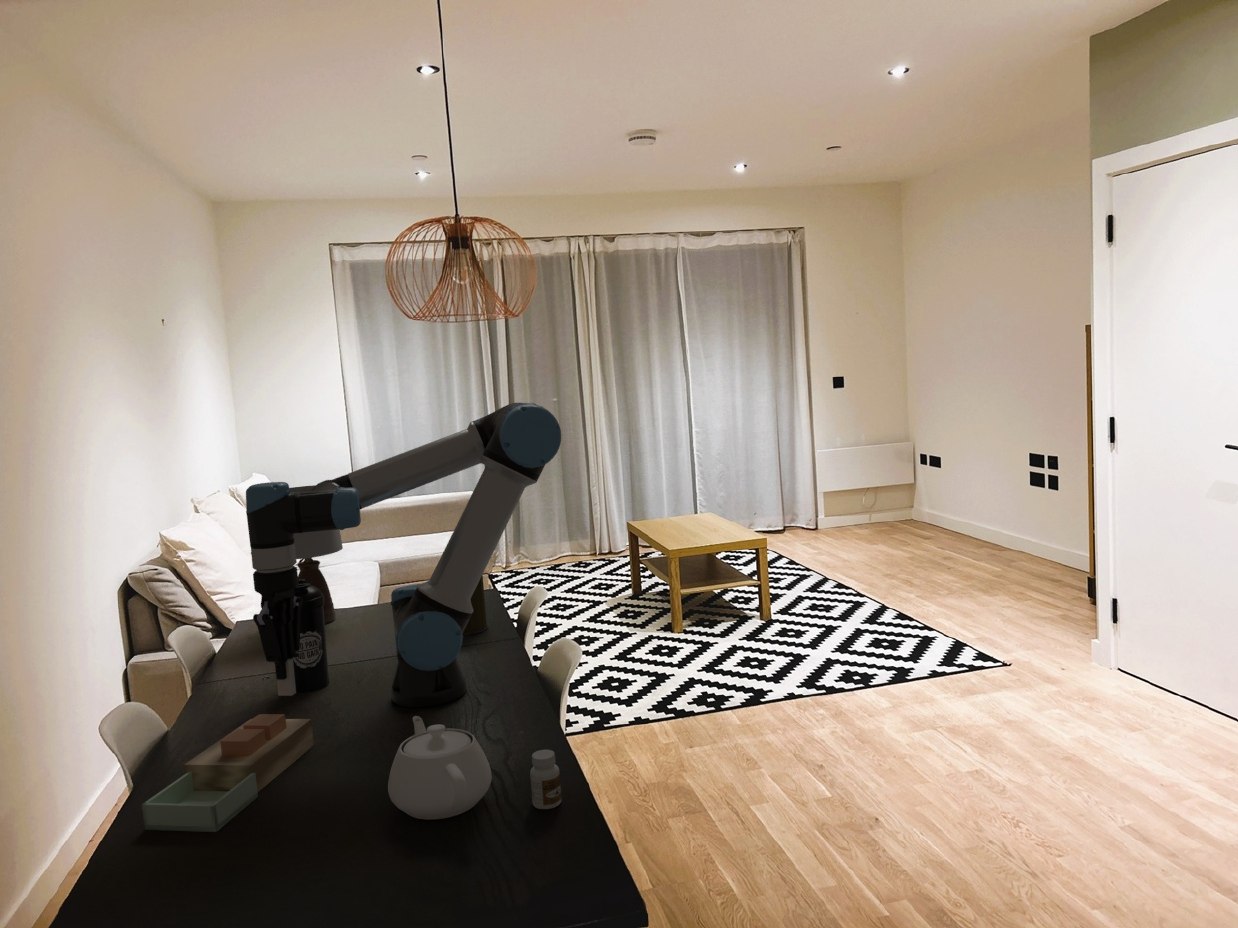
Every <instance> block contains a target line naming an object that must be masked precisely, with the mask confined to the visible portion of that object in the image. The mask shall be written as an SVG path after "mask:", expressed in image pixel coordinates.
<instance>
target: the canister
mask: <svg viewBox="0 0 1238 928" xmlns="http://www.w3.org/2000/svg"><path fill="white" fill-rule="evenodd" d="M483 575H484V573H483V574H482V576H481V579H480V581H479V583H478V585H477V587H476V589H475V591H474V593H473V595H472V597H471V599H470V600H471V605H472V608H473V613H472V615H471V617H470V619H469V621H468V623H467V625H466V627H465V629H464V631H463V633H462V635H463V637H464V636H471V635H476V634H479V633H483V632H485V631H486V630H487V629H488V628H489V625H488V624H487V611H486V601H485V600H486V599H485V588H484V576H483Z"/></svg>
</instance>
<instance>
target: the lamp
mask: <svg viewBox="0 0 1238 928" xmlns="http://www.w3.org/2000/svg"><path fill="white" fill-rule="evenodd" d="M316 485H317V484H315V485H313V484H312V485H303V486H295V487H294V486H293V487H289V488H290V490H291V492H305V491H312V489H313V488H314V487H315V486H316ZM342 542H343V541H342V536H341V530H340V529H338V530H326V531H315V532H303V533H294V543H295V552H296V560H302V559H304V560H303V561H301V562H297V563H296V567H297V568H298V569H299V572H298V580H300V579H305V582H306V583H310V584H311V586H314V587H317V588H318V589H319V590H320V591H321V593H323V594H324V605H323V609H324V622H325V625H326V624H330V623H332V622H334V620H336V617H337V616H336V611H335V606H334V602H333V598H332V596H331V591H330V588H329V585H328V582H327V581H326V578H325V576H324V575H323V573H322V570H321V569H320V564H321V561H320V560H316V559H313V558H318V557H322V556H323V557H324V556H328V555H331V554H332V555H333V554H335V553H338V552H339V551H341V550H343V549H344V548H343V543H342Z"/></svg>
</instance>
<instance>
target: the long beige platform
mask: <svg viewBox="0 0 1238 928" xmlns="http://www.w3.org/2000/svg"><path fill="white" fill-rule="evenodd" d="M252 719H253V718H250V719H248V720H247V721H245V722H244V723H243V724H241V725H240V726H239V727H237V728H235V729H233V730H232V731H231V732H230V733H228V734H227V735H225V736H224V737H222V738H221V739H218V741H216V742H215V743H213V744H212V745H211V746H209V747H207V748H206V749H205V750H203V751H202V752H201V753H199V754H198V755H196V756H194V757H193V758H192V759H190V760H189V761H187V762H185V763H184V766H183V767H184V772H185V774H186V773H188V772H192V778H193V786H194V791H230V790H231V789H232V788H233V787H235V786H236V785H237V784H239V783H240V782H241V781H242V780H244V779H245V778H246V777H247V776H249V775H250V774H251V773H255V774H256V782H257V791H258V793H259V792H260V791H261V790H262V789H264V788H265V787H266V786H267V785H269V784H270V783H271V782H272V781H273V780H274V779H276V778H277V777H278V776H280V774H282V773H283V772H284V771H285V770H287V768H289V767H290V766H291V765H292V764H294V763H296V761H297V760H298V759H300V758H301V757H302V756H303V755H304V754H306V753H307V752H308V751H310V750H311V749H312V748H313V747H314V746H315V742H314V734H313V726H312V725H313V724H312V719H311V718H286V727H287V728H286V729H284V730H283V731H282V732H280V733H279V734H278V735H276V736H275V737H274V738H272V739H271V740H266V744H265V745H263V746H262V747H261V748H259V749H258V750H257V751H255V752H254V753H253V754H251V755H250V756H222V752H221V744H220V741H221V740H223V739H224V738H226V737H227V736H228V735H230V734H231V733H233V732H234V731H236V730H237V729H243V725H244V724H246V723H247V722H249V721H250V720H252ZM185 774H184V775H185Z"/></svg>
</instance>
